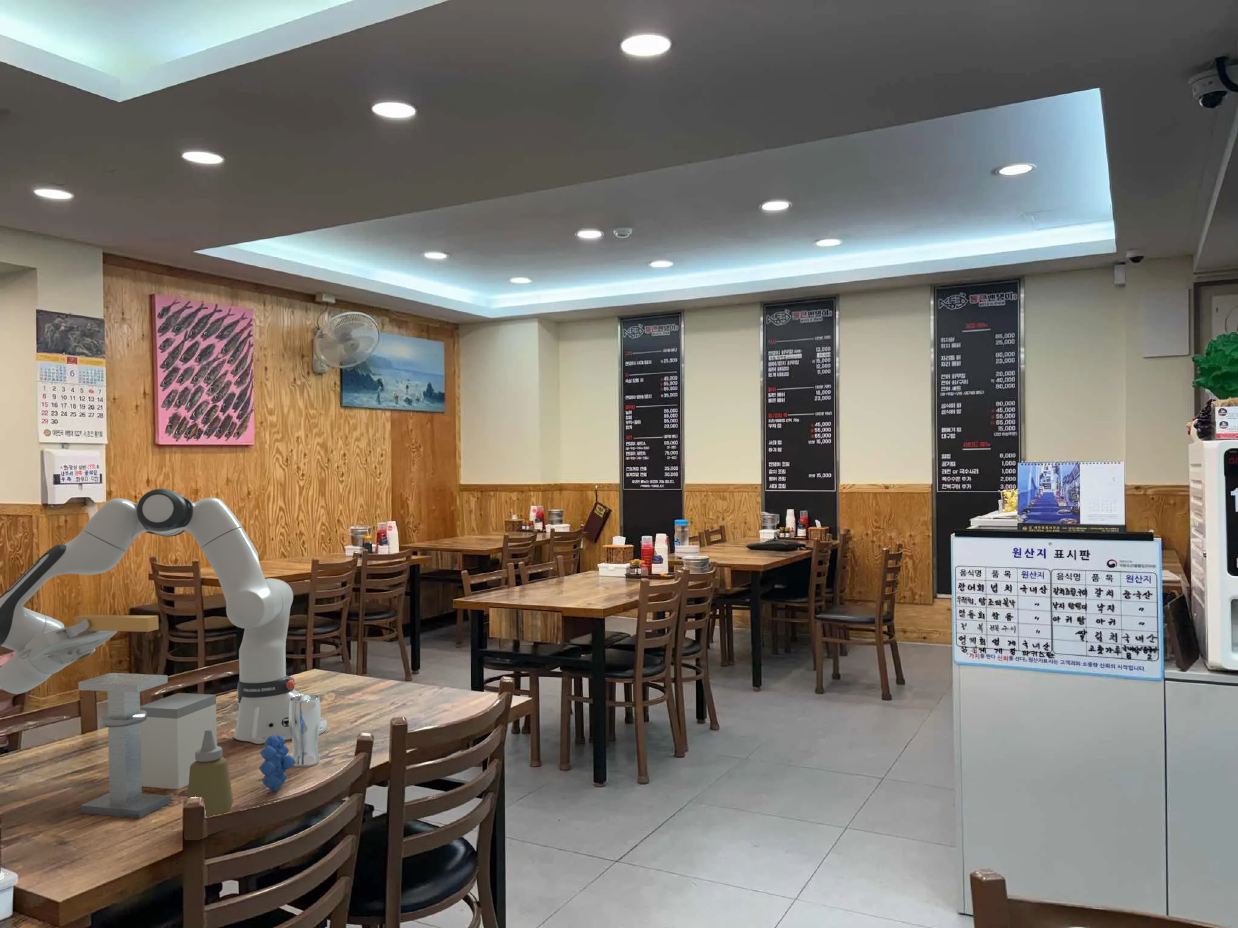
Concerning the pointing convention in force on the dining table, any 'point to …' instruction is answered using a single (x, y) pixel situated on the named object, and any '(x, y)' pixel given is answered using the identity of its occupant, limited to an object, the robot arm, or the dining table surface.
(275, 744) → the grapes
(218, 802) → the squeeze bottle
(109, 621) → the bracket bar
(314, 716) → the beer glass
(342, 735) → the dining table surface
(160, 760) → the white lidded box
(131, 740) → the post
